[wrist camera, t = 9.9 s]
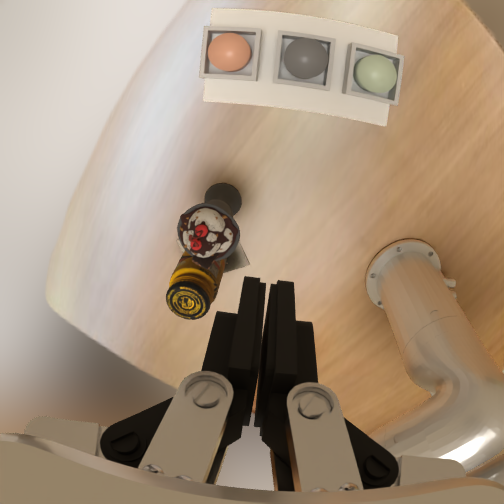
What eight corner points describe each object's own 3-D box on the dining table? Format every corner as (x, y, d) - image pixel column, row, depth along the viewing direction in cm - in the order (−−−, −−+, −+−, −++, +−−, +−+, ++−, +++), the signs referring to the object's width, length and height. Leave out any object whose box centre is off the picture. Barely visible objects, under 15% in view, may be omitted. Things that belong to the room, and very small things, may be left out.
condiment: (176, 240, 46) (148, 288, 35) (229, 220, 44) (212, 266, 33) (199, 279, 49) (179, 333, 38) (249, 263, 47) (241, 318, 36)
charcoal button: (326, 45, 29) (330, 41, 26) (321, 81, 31) (325, 81, 28) (285, 39, 29) (286, 35, 26) (281, 76, 31) (281, 74, 28)
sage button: (390, 61, 30) (398, 60, 27) (385, 95, 32) (393, 97, 29) (354, 53, 30) (361, 50, 27) (350, 87, 32) (356, 88, 29)
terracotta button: (253, 38, 30) (251, 33, 28) (249, 73, 32) (247, 72, 30) (215, 36, 30) (209, 32, 28) (211, 71, 32) (206, 69, 30)
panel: (395, 37, 30) (406, 33, 26) (383, 125, 35) (393, 129, 32) (213, 10, 30) (206, 3, 27) (205, 100, 36) (197, 102, 32)
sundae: (219, 166, 40) (189, 209, 27) (258, 200, 42) (248, 258, 29) (188, 201, 43) (149, 256, 30) (225, 232, 45) (203, 298, 31)
